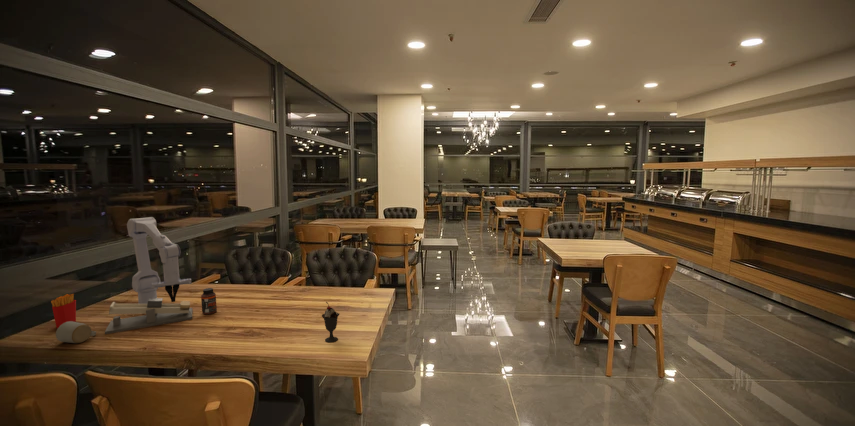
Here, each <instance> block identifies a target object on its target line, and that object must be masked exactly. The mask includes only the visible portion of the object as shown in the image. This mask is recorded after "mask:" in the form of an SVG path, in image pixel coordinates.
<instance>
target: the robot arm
mask: <svg viewBox="0 0 855 426" xmlns="http://www.w3.org/2000/svg"><path fill="white" fill-rule="evenodd" d="M126 229H127V233H128V236H129V237H130V238H132V241H133V247H134V252H135V258H136V264H137V269H138V270H137V272H136V273H135V274H134V275H132V278H131V279H132V282H131V287H132V290H133V291H134V292H136V293H137V300H138V301H137V302H138V304H148V300H149V298H158V294H157V293H158V292H157V290H159V288H164V290H165V291H166V293H167V294H168V296H169V298H170V301H171V303H174V302H176V296H177V293H178V291H179V289H180V286H181V285H191V284H192V278H182V279H181V278H180V267H179V266H180V264H179V257H180V256H181V248H180V246H179V244H177V243H173V242H172V241H171V240H170V239H169V238H168V237H167V235H165V234H162V233H161V232H160V231H159V229H158V228H157V220H156V219H155V217H153V216H149V217H140V218H137V217H136V218H129V219H128V221H127V223H126ZM148 236H149V237H150V238H151V239H152V244H153V245H154V246H155V248H156V249H157V250H158V251H159V253H158V255H159V257H160V261H161V263H162V271H163V281H161V278H160V276H159V272H158V271H155V270H154V269H152V265H151V260H150V253H149V249H148V247H149V246H148V243H147V242H148V241H147V237H148Z"/></svg>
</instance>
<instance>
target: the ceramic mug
mask: <svg viewBox="0 0 855 426" xmlns="http://www.w3.org/2000/svg"><path fill="white" fill-rule="evenodd" d="M96 334H97V331H95V330H92V328H91V326H90V325H88V324H86V323H83V322H77V321H76V322H73V321H68V322H65V323H63V324H62V325H60V326H59V328H56V331H55V338H56V339H57V341H59V342H61V343H71V344H80V343H83V342H85V341H87V340H88V339H90V338H91V337H95V336H96Z"/></svg>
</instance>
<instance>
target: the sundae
mask: <svg viewBox="0 0 855 426" xmlns="http://www.w3.org/2000/svg"><path fill="white" fill-rule="evenodd" d="M325 303H326V304H327V307H326V310H325V311H324V313H322V314H321V317H322V319H323V321H324V326H325V329H326V330H327V331H328V332H329V337H326V338H325V339H324V342H326V343H335V342H337V341H339V338H338V337H337V336H334V334H333V332H334V331H335V330H336V329H337V326H338V317H339V316H340V313H339V312H337V311H336V310H335V309H334V308H333V307H331V306H330V305H329V303H328V302H327V301H325Z"/></svg>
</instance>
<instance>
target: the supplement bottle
mask: <svg viewBox="0 0 855 426" xmlns="http://www.w3.org/2000/svg"><path fill="white" fill-rule="evenodd" d="M202 292H203V293H202V294H201V295H200V300H201V302H200V303H201V313H202V314H203V315H212V314H215V313H216V312H217V311H218V310H217V309H218V308H217V307H218V306H217V294H216V292H214V288H213V287H207V288H204V289H203V290H202Z"/></svg>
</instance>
